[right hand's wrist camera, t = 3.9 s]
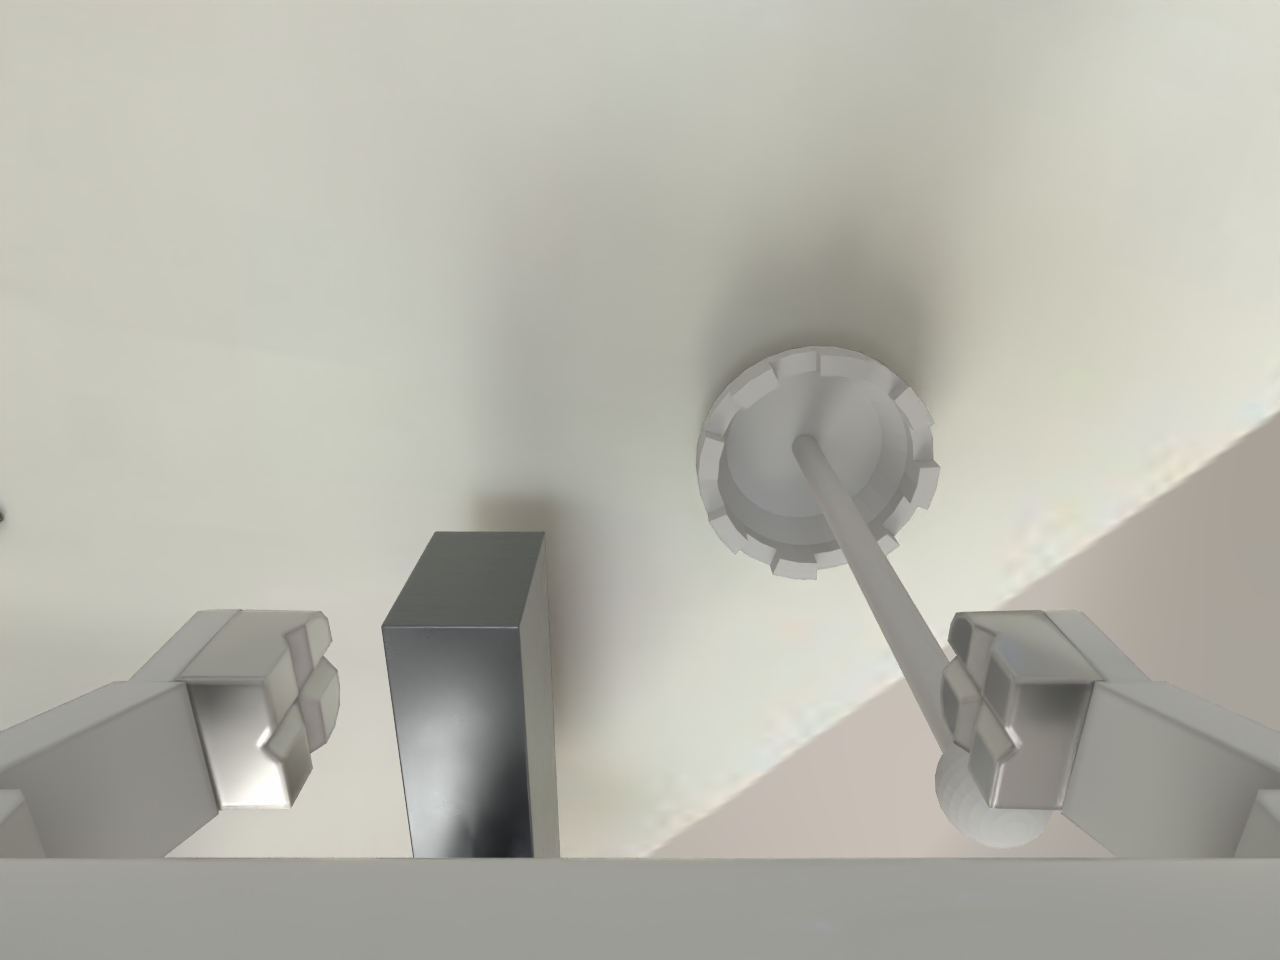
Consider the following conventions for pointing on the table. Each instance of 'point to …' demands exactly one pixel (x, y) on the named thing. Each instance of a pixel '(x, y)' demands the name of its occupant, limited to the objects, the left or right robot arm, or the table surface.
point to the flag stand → (843, 516)
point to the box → (476, 698)
